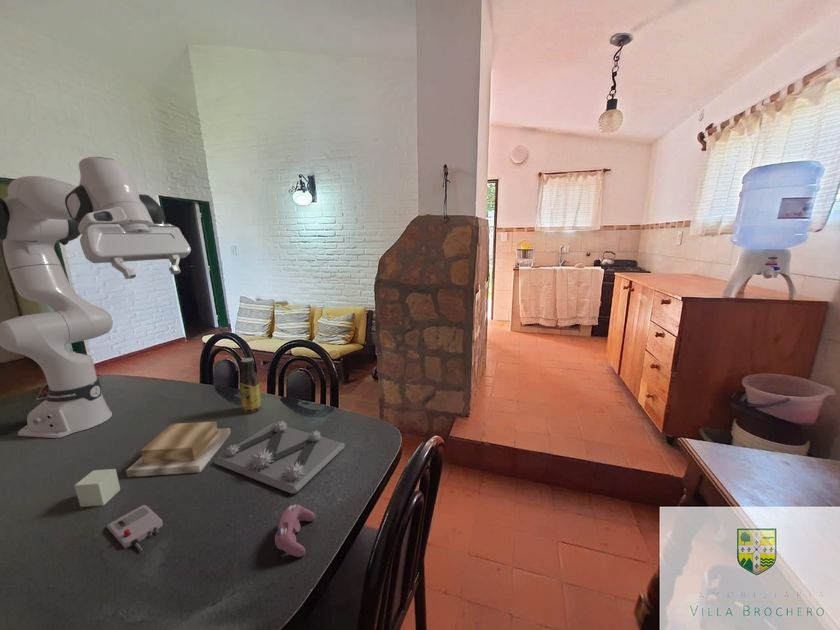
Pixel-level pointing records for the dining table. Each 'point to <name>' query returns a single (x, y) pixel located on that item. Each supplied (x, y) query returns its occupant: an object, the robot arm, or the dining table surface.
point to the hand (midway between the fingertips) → (155, 275)
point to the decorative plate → (281, 456)
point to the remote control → (135, 526)
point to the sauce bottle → (249, 387)
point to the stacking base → (183, 464)
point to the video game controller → (292, 529)
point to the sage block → (97, 487)
